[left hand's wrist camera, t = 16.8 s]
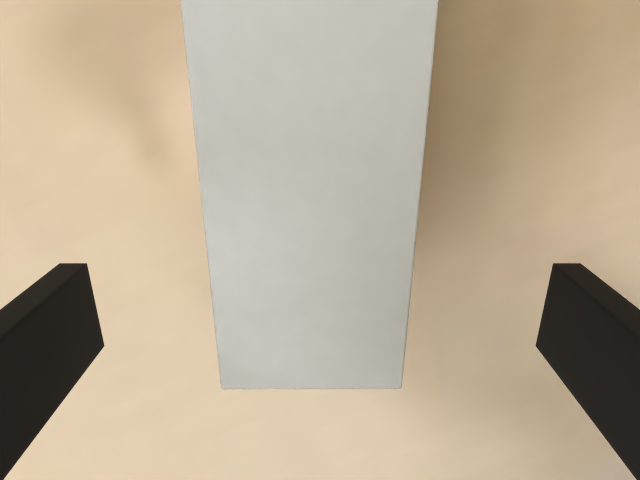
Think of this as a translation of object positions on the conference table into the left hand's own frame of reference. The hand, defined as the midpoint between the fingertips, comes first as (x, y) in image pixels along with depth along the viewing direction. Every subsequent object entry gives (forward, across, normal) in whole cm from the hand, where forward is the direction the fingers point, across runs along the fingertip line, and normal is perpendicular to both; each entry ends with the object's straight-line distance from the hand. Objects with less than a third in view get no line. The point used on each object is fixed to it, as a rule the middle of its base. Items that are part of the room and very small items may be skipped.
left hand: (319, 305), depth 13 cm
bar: (+8, 0, -9) cm, 12 cm away
